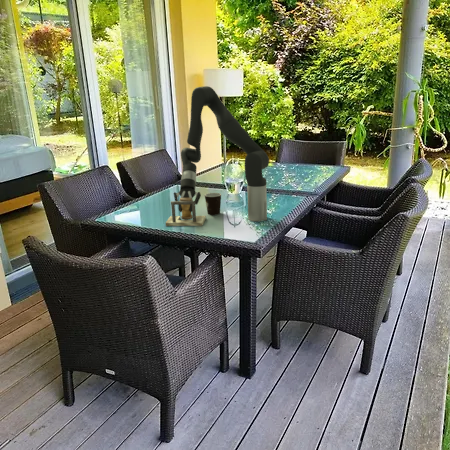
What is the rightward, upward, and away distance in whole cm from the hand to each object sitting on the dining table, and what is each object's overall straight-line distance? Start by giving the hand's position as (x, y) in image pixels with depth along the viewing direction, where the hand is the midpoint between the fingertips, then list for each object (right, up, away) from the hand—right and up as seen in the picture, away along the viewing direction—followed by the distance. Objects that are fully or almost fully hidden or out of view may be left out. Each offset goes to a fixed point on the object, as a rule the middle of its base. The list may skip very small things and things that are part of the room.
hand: (185, 211), depth 216 cm
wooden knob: (0, -3, +3) cm, 5 cm away
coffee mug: (+13, -1, +13) cm, 19 cm away
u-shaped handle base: (0, -5, +2) cm, 6 cm away
